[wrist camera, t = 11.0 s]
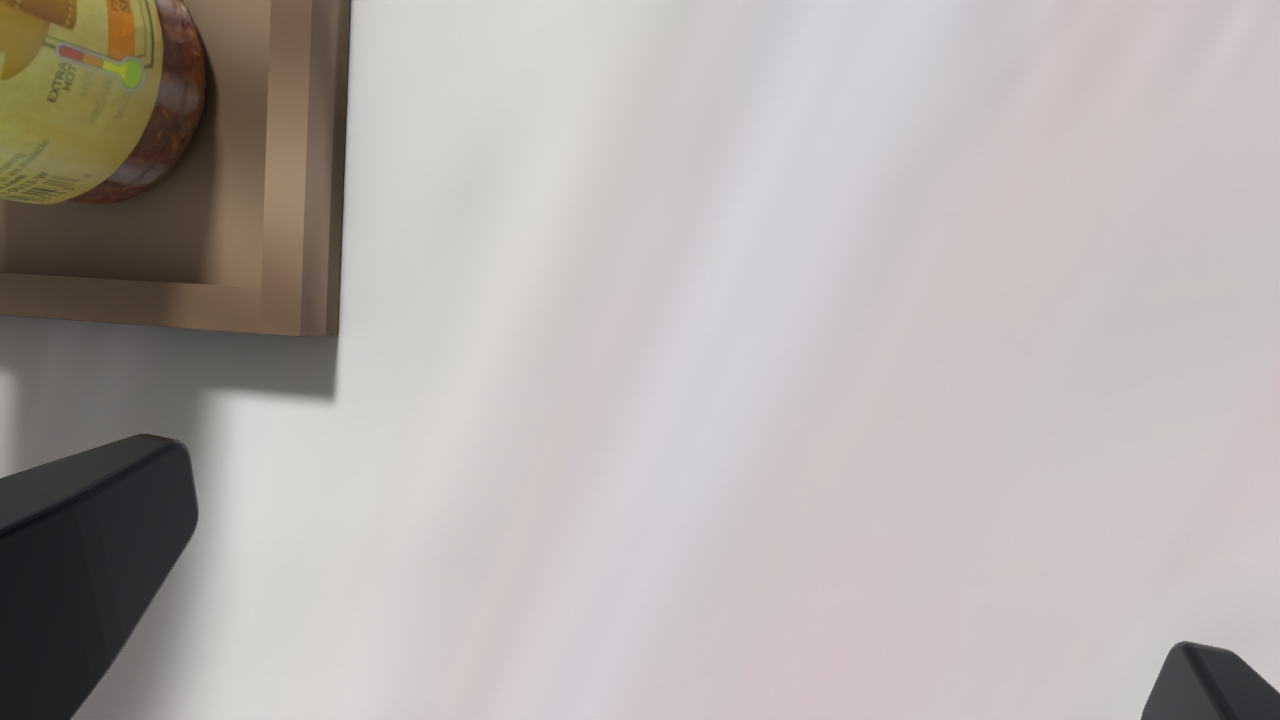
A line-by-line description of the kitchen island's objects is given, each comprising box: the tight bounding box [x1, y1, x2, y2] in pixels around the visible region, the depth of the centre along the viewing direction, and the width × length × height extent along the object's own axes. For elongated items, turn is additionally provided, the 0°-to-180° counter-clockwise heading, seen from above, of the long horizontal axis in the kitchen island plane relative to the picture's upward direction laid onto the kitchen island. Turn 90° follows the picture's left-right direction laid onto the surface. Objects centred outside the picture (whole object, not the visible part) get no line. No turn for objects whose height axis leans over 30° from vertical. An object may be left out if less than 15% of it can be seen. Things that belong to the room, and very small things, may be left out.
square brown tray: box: [0, 0, 350, 337], centre depth 24 cm, size 12×12×2 cm
